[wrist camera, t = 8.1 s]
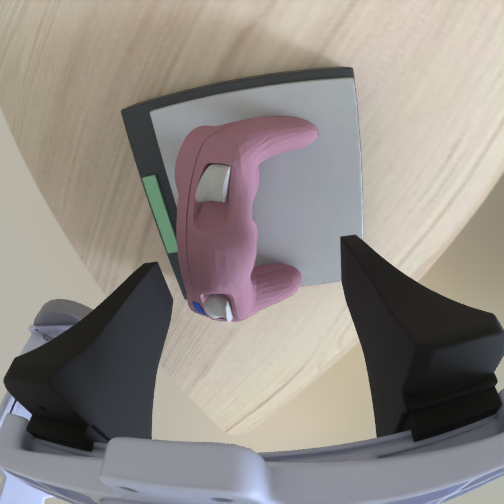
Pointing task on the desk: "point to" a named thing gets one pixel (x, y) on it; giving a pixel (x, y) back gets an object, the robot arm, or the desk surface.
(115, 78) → the desk surface
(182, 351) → the desk surface
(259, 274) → the video game controller
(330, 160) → the scale
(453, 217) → the desk surface
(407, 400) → the robot arm
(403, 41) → the desk surface
